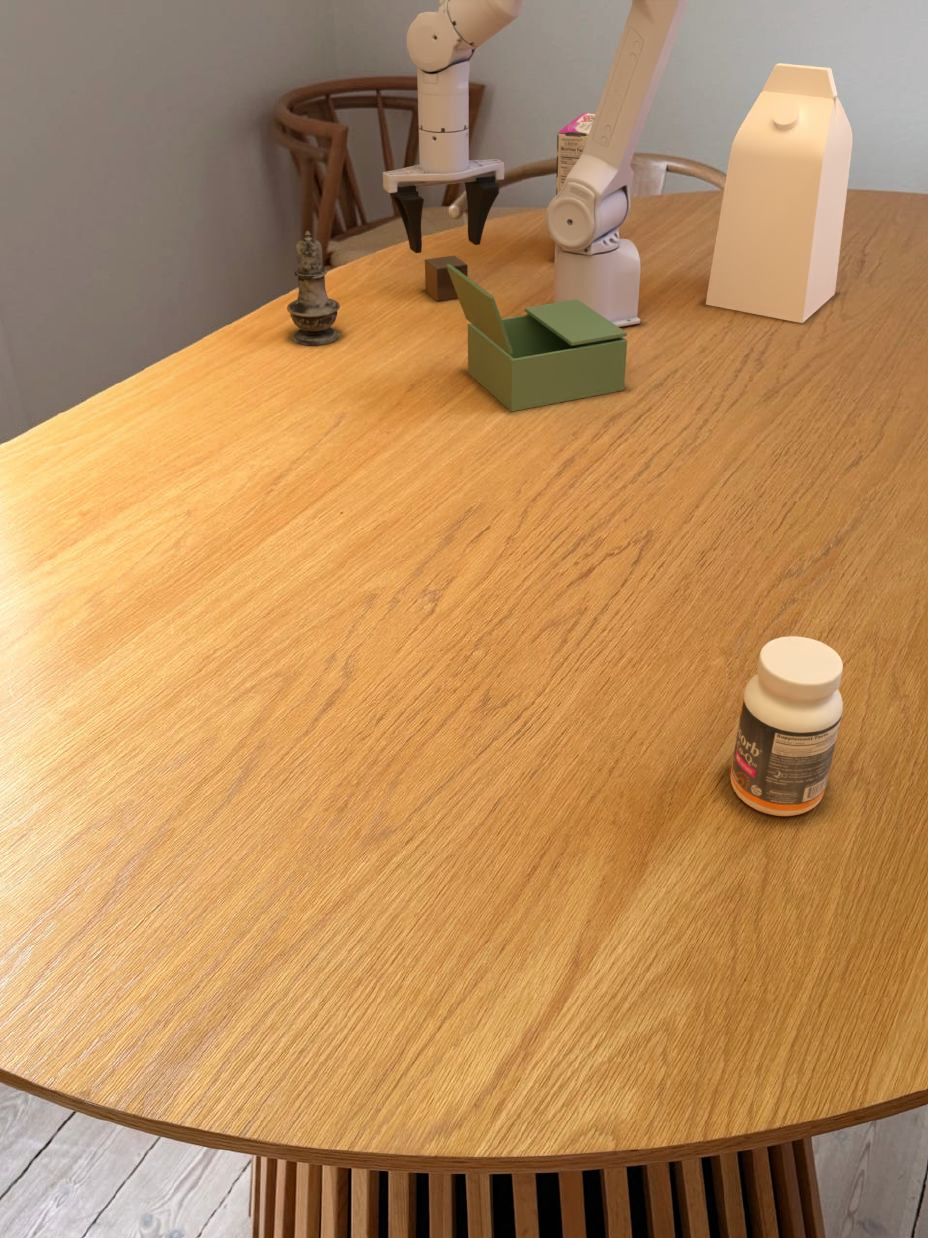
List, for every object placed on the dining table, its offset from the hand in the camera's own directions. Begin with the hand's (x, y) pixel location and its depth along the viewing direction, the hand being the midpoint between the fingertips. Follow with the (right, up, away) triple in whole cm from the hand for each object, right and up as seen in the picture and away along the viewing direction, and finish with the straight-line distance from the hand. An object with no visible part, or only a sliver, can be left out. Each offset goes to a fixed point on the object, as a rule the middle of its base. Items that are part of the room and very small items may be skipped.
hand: (445, 246), depth 146 cm
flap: (+4, -14, -27) cm, 30 cm away
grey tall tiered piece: (-15, -13, -8) cm, 21 cm away
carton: (+11, -20, -19) cm, 30 cm away
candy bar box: (+18, +4, +17) cm, 25 cm away
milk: (+39, -6, +1) cm, 40 cm away
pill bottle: (+21, -55, -71) cm, 93 cm away
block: (0, -5, +3) cm, 6 cm away
